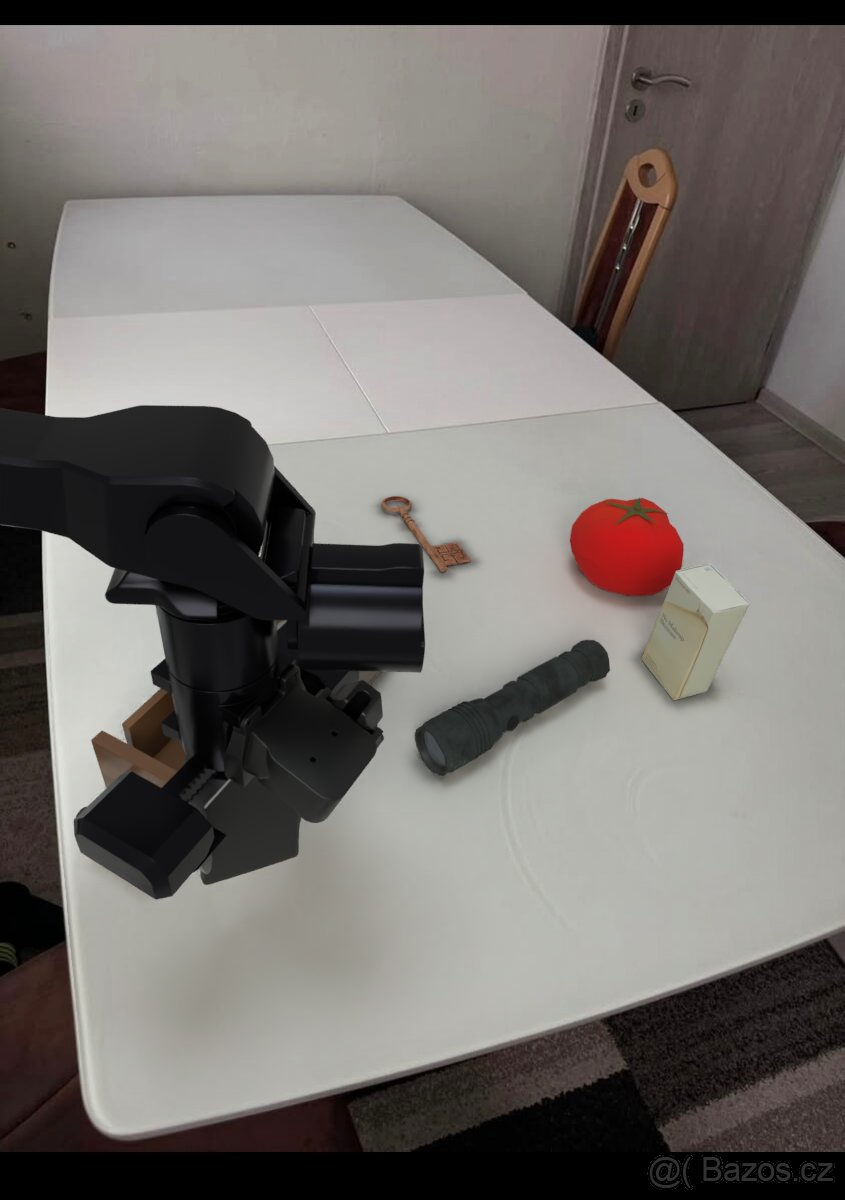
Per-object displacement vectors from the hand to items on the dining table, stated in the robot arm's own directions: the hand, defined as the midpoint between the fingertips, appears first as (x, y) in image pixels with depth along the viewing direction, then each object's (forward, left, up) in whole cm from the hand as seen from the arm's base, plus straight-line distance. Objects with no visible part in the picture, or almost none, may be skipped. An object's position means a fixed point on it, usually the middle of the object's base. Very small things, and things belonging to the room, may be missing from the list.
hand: (243, 821), depth 52 cm
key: (+49, +12, -13) cm, 52 cm away
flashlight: (+28, -9, -13) cm, 32 cm away
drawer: (+7, +11, -12) cm, 17 cm away
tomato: (+54, -11, -13) cm, 57 cm away
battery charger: (0, 0, -4) cm, 4 cm away
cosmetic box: (+42, -21, -13) cm, 49 cm away
